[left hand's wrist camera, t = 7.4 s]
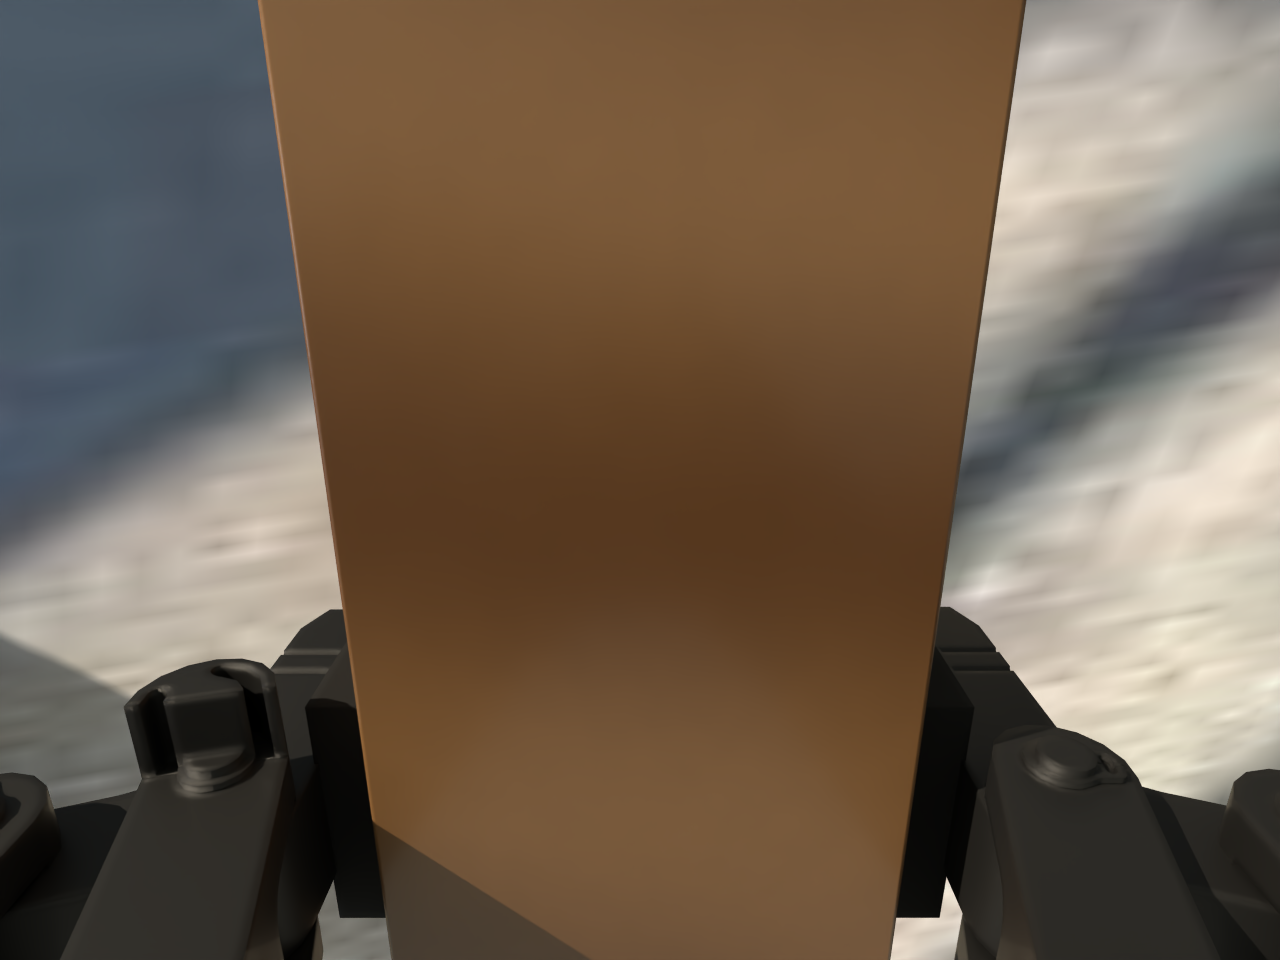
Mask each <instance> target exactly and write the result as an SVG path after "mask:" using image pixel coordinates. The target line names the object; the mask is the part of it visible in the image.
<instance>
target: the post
mask: <svg viewBox="0 0 1280 960" xmlns="http://www.w3.org/2000/svg"><path fill="white" fill-rule="evenodd" d="M258 5H259V12H260V19H261V26H262V33H263V41H264V48H265V55H266V62H267V69H268V76H269V84H270V91H271V98H272V105H273V112H274V119H275V127H276V134H277V141H278V148H279V155H280V162H281V170H282V177H283V184H284V191H285V198H286V206H287V213H288V220H289V227H290V234H291V241H292V249H293V256H294V263H295V270H296V277H297V284H298V292H299V299H300V306H301V313H302V320H303V327H304V335H305V342H306V349H307V356H308V363H309V370H310V378H311V385H312V392H313V399H314V406H315V413H316V421H317V428H318V435H319V442H320V449H321V456H322V464H323V471H324V478H325V485H326V492H327V500H328V507H329V514H330V521H331V528H332V535H333V543H334V550H335V557H336V564H337V571H338V578H339V586H340V593H341V600H342V607H343V614H344V621H345V629H346V636H347V643H348V650H349V657H350V664H351V672H352V679H353V686H354V693H355V700H356V707H357V715H358V722H359V729H360V736H361V743H362V750H363V758H364V765H365V772H366V779H367V786H368V794H369V801H370V808H371V815H372V822H373V829H374V837H375V844H376V851H377V858H378V865H379V872H380V880H381V887H382V894H383V901H384V908H385V915H386V923H387V930H388V937H389V944H390V951H391V958H392V960H890V958H891V951H892V944H893V936H894V929H895V922H896V915H897V908H898V901H899V894H900V887H901V880H902V873H903V866H904V859H905V852H906V845H907V838H908V831H909V824H910V817H911V810H912V802H913V795H914V788H915V781H916V774H917V767H918V760H919V753H920V746H921V739H922V732H923V725H924V718H925V711H926V704H927V697H928V690H929V683H930V676H931V668H932V661H933V654H934V647H935V640H936V633H937V626H938V619H939V612H940V605H941V598H942V591H943V584H944V577H945V570H946V563H947V556H948V549H949V542H950V534H951V527H952V520H953V513H954V506H955V499H956V492H957V485H958V478H959V471H960V464H961V457H962V450H963V443H964V436H965V429H966V422H967V415H968V408H969V401H970V393H971V386H972V379H973V372H974V365H975V358H976V351H977V344H978V337H979V330H980V323H981V316H982V309H983V302H984V295H985V288H986V281H987V274H988V267H989V259H990V252H991V245H992V238H993V231H994V224H995V217H996V210H997V203H998V196H999V189H1000V182H1001V175H1002V168H1003V161H1004V154H1005V147H1006V140H1007V133H1008V125H1009V118H1010V111H1011V104H1012V97H1013V90H1014V83H1015V76H1016V69H1017V62H1018V55H1019V48H1020V41H1021V34H1022V27H1023V20H1024V13H1025V6H1026V0H258Z"/></svg>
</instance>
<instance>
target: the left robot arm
mask: <svg viewBox="0 0 1280 960" xmlns="http://www.w3.org/2000/svg"><path fill="white" fill-rule="evenodd" d="M124 710H125V714H126V718H127V722H128V726H129V729H130V733H131V737H132V741H133V745H134V749H135V753H136V757H137V761H138V764H139V768H140V772H141V776H142V781H141V783H140V785H139V787H138V789H137V791H133V792H130V793H126V794H122V795H119V796H114V797H110V798H105V799H100V800H95V801H91V802H86V803H81V804H76V805H72V806H67V807H62V808H58V809H54V808H53V805H52V802H51V798H50V795H49V792H48V789H47V786H46V785H45V784H44V783H42V782H41V781H40V780H39V779H38V778H36V777H35V776H32V775H25V774H18V773H5V774H0V960H322V957H323V945H322V938H321V931H320V925H319V920H318V914H319V911H320V909H321V907H322V905H323V902H324V900H325V898H326V895H327V893H328V891H329V889H330V886H331V884H332V882H333V880H334V885H335V891H336V897H337V903H338V909H339V915H340V918H386V915H385V908H384V901H383V894H382V887H381V880H380V872H379V865H378V858H377V851H376V844H375V837H374V829H373V822H372V815H371V808H370V801H369V794H368V786H367V779H366V772H365V765H364V758H363V750H362V743H361V736H360V729H359V722H358V715H357V707H356V700H355V693H354V686H353V679H352V672H351V664H350V657H349V650H348V643H347V636H346V629H345V621H344V614H343V610H329V611H327V612H326V613H324V614H323V615H321V616H319V617H318V618H316V619H315V620H313V621H312V622H310V623H309V624H307V625H306V626H304V627H303V628H301V629H300V631H299V632H298V633H297V634H296V636H295V637H294V638H293V640H292V641H291V642H290V644H289V645H288V646H287V648H286V649H285V650H284V655H281V656H280V657H279V658H278V660H277V661H276V662H275V663H274V665H273V666H272V667H271V669H269V668H268V667H266V666H265V665H264V664H263V663H259V662H255V661H250V660H246V659H216V660H212V661H207V662H203V663H198V664H193V665H189V666H186V667H183V668H181V669H178V670H176V671H173V672H171V673H168V674H166V675H163V676H161V677H159V678H157V679H156V680H154V681H153V682H151V683H150V684H148V685H146V686H145V687H143V688H142V689H140V690H139V691H137V693H136V694H135V695H134V696H133V697H132V698H131V699H130V700H129V702H128V703H127V704H126V705H125V706H124ZM946 877H947V879H948V881H949V883H950V886H951V888H952V890H953V892H954V895H955V897H956V899H957V901H958V904H959V906H960V908H961V911H962V913H963V914H962V920H961V925H960V931H959V937H958V942H957V948H956V953H955V959H954V960H1280V770H1274V769H1265V770H1258V771H1250V772H1246V773H1245V774H1243V775H1242V776H1241V777H1240V778H1238V779H1237V780H1236V781H1235V782H1234V783H1233V786H1232V790H1231V793H1230V796H1229V799H1228V803H1227V806H1226V805H1221V804H1216V803H1211V802H1207V801H1202V800H1197V799H1192V798H1188V797H1183V796H1178V795H1173V794H1168V793H1164V792H1160V791H1156V790H1152V789H1149V788H1145V787H1142V786H1141V783H1140V781H1139V779H1138V777H1137V776H1136V775H1135V773H1134V772H1133V771H1132V769H1131V768H1130V767H1129V765H1128V764H1127V763H1126V761H1125V760H1124V759H1122V758H1121V757H1120V756H1118V755H1117V754H1115V753H1114V752H1113V751H1111V750H1110V749H1109V748H1107V747H1106V746H1105V745H1103V744H1101V743H1099V742H1097V741H1095V740H1092V739H1090V738H1088V737H1086V736H1084V735H1081V734H1079V733H1077V732H1073V731H1069V730H1065V729H1061V728H1057V727H1056V726H1055V725H1054V723H1053V722H1052V721H1051V719H1050V718H1049V717H1048V715H1047V714H1046V713H1045V712H1044V710H1043V709H1042V708H1041V706H1040V705H1039V704H1038V702H1037V701H1036V700H1035V698H1034V697H1033V696H1032V695H1031V693H1030V692H1029V691H1028V689H1027V688H1026V687H1025V685H1024V684H1023V683H1022V681H1021V680H1020V679H1019V677H1018V676H1017V675H1016V674H1015V672H1014V671H1010V666H1009V664H1008V663H1007V662H1006V660H1005V659H1004V658H1003V657H1002V655H1001V654H1000V653H999V652H996V647H995V646H994V645H993V643H992V642H991V641H990V640H989V638H988V637H987V636H986V634H985V633H984V632H983V630H982V629H981V628H980V626H979V625H977V624H975V623H974V622H972V621H971V620H969V619H968V618H966V617H965V616H963V615H962V614H960V613H958V612H957V611H955V610H954V609H952V608H951V607H940V612H939V619H938V626H937V633H936V640H935V647H934V654H933V661H932V668H931V676H930V683H929V690H928V697H927V704H926V711H925V718H924V725H923V732H922V739H921V746H920V753H919V760H918V767H917V774H916V781H915V788H914V795H913V802H912V810H911V817H910V824H909V831H908V838H907V845H906V852H905V859H904V866H903V873H902V880H901V887H900V894H899V901H898V908H897V915H896V918H940V912H941V906H942V900H943V894H944V888H945V882H946Z"/></svg>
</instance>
